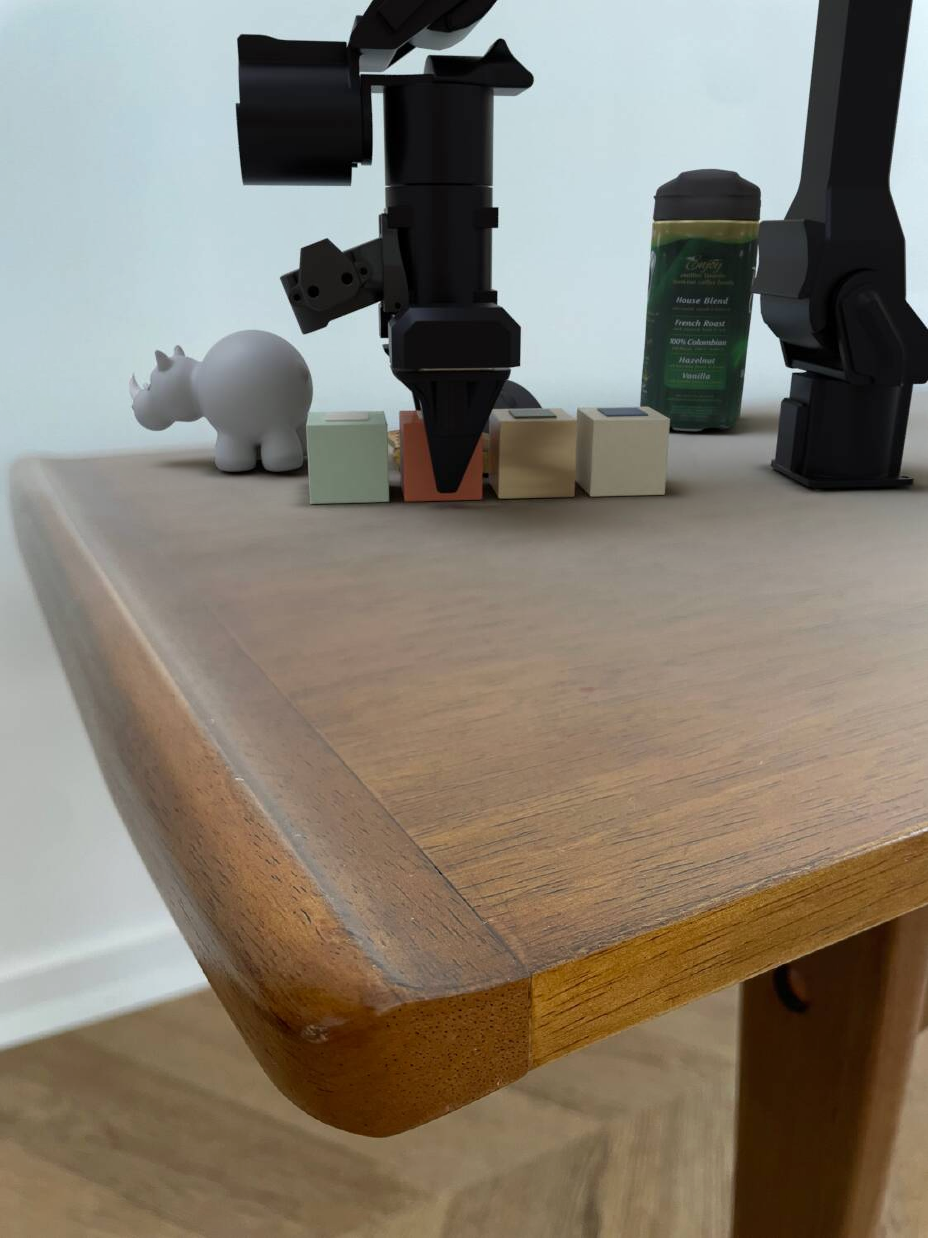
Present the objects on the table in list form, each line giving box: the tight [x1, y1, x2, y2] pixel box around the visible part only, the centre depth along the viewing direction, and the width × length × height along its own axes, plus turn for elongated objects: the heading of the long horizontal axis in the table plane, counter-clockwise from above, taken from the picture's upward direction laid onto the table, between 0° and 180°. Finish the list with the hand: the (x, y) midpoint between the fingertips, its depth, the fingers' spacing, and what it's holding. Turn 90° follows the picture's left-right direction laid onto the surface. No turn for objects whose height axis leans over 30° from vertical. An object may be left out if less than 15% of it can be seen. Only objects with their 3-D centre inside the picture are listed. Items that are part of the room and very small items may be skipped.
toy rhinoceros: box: [128, 329, 314, 473], centre depth 66 cm, size 7×12×8 cm, turn 82°
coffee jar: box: [639, 168, 762, 432], centre depth 79 cm, size 10×8×19 cm
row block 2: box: [488, 407, 577, 500], centre depth 60 cm, size 4×4×4 cm
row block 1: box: [306, 410, 390, 505], centre depth 59 cm, size 4×4×4 cm
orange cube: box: [398, 409, 483, 503], centre depth 60 cm, size 4×4×4 cm
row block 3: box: [575, 406, 671, 498], centre depth 61 cm, size 4×4×4 cm
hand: (440, 478), depth 60 cm, fingers open, 7 cm apart
